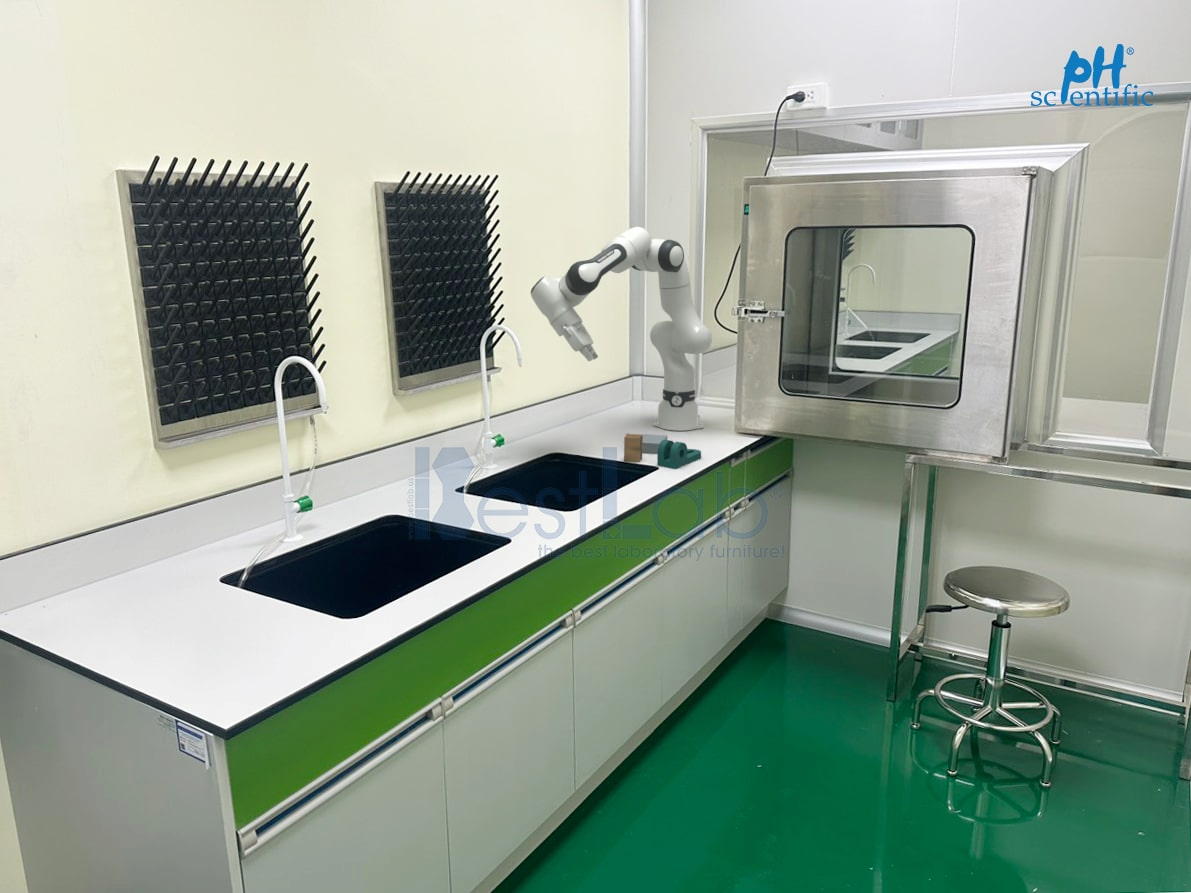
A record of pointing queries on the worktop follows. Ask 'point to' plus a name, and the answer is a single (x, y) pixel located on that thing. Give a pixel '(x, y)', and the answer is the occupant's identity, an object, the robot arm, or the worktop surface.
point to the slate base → (652, 443)
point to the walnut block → (633, 447)
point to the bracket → (675, 454)
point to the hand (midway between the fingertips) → (593, 359)
